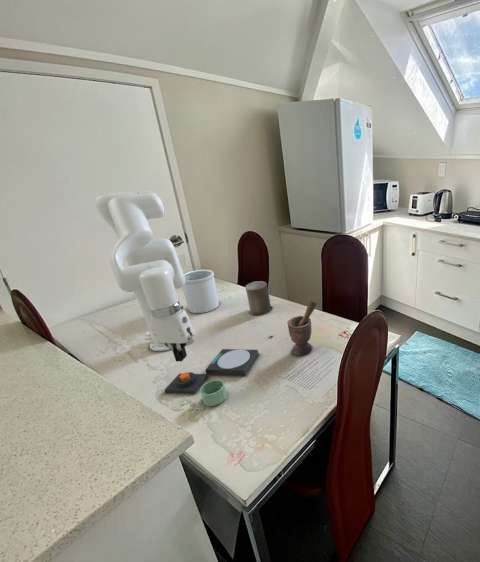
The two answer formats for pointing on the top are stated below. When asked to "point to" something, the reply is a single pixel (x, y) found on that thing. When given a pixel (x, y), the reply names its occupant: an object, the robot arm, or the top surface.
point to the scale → (232, 362)
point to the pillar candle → (258, 297)
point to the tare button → (184, 377)
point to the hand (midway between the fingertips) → (181, 358)
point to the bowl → (213, 392)
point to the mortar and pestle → (301, 330)
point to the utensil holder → (200, 291)
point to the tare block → (186, 384)
